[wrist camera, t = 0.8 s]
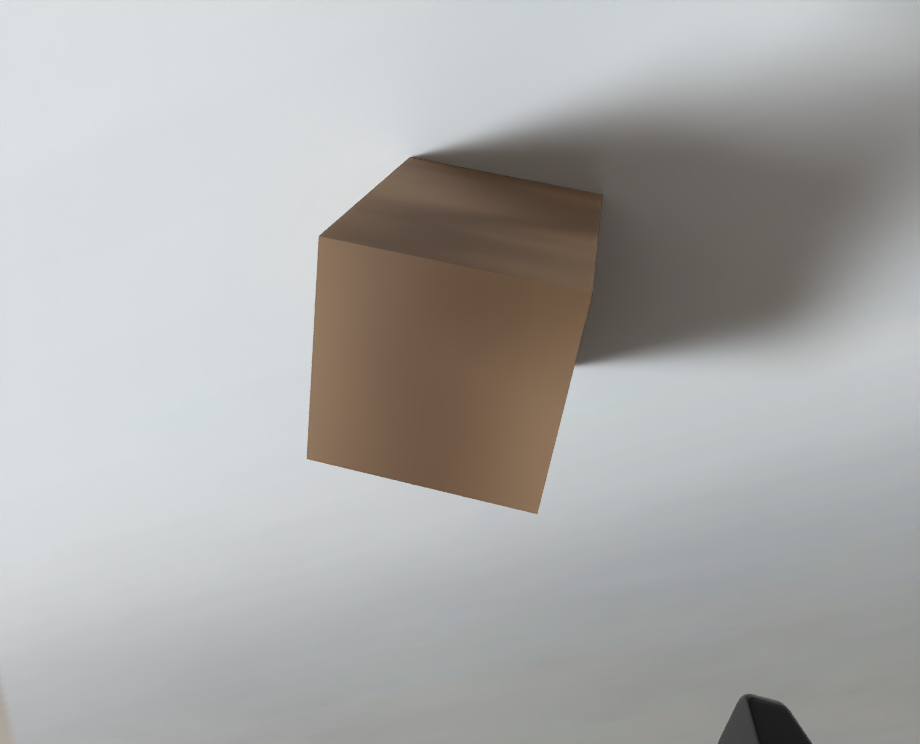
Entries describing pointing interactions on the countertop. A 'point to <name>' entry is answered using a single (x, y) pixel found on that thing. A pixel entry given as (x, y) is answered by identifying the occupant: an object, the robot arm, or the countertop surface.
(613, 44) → the countertop surface
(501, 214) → the walnut block
